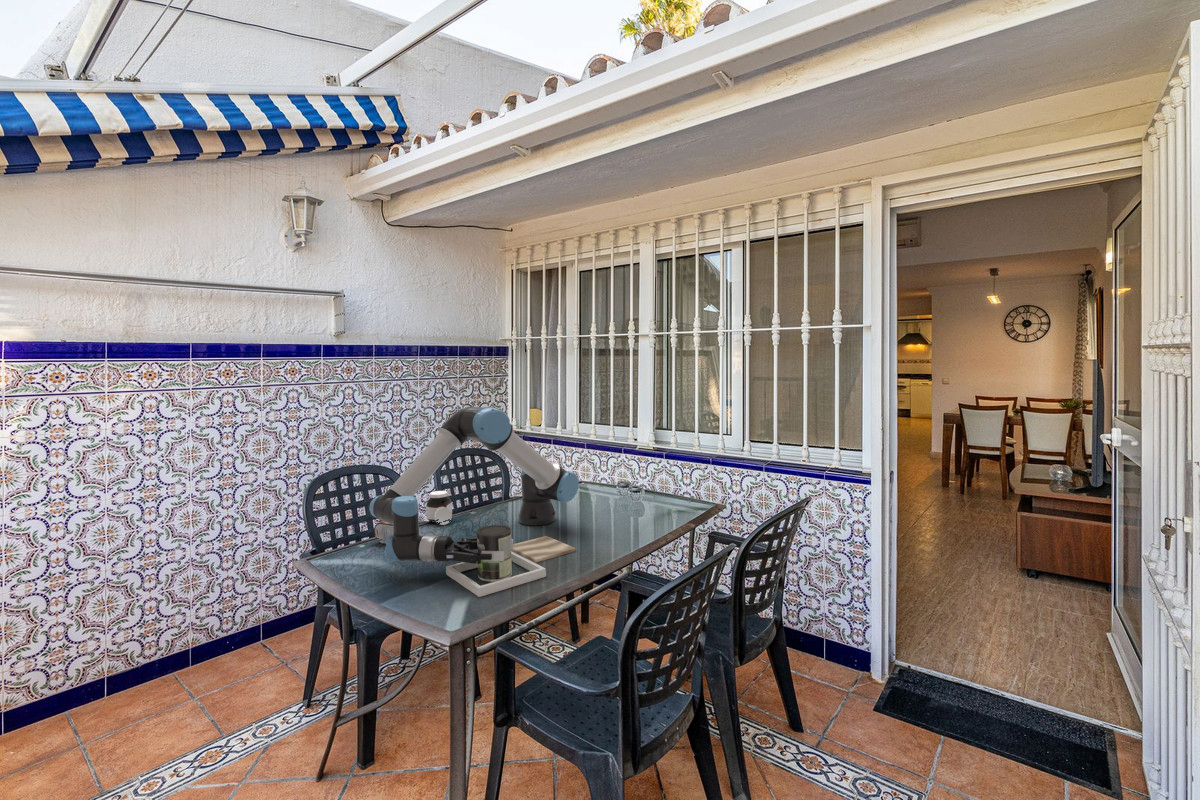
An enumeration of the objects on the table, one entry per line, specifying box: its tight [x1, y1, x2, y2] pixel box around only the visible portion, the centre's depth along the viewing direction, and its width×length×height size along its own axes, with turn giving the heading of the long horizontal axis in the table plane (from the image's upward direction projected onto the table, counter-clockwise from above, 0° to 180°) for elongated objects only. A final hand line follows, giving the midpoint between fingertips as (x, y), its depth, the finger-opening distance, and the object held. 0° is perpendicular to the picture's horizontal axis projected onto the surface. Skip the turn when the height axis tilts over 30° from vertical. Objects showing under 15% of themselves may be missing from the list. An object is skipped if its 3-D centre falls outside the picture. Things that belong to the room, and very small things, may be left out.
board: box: [511, 535, 577, 563], centre depth 193 cm, size 18×16×1 cm
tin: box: [373, 520, 393, 545], centre depth 202 cm, size 15×3×8 cm, turn 65°
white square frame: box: [445, 550, 547, 598], centre depth 171 cm, size 22×22×2 cm
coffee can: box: [476, 524, 513, 583], centre depth 171 cm, size 10×10×14 cm
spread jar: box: [425, 490, 453, 526], centre depth 229 cm, size 12×11×12 cm
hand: (508, 549), depth 170 cm, fingers closed on coffee can, 10 cm apart
